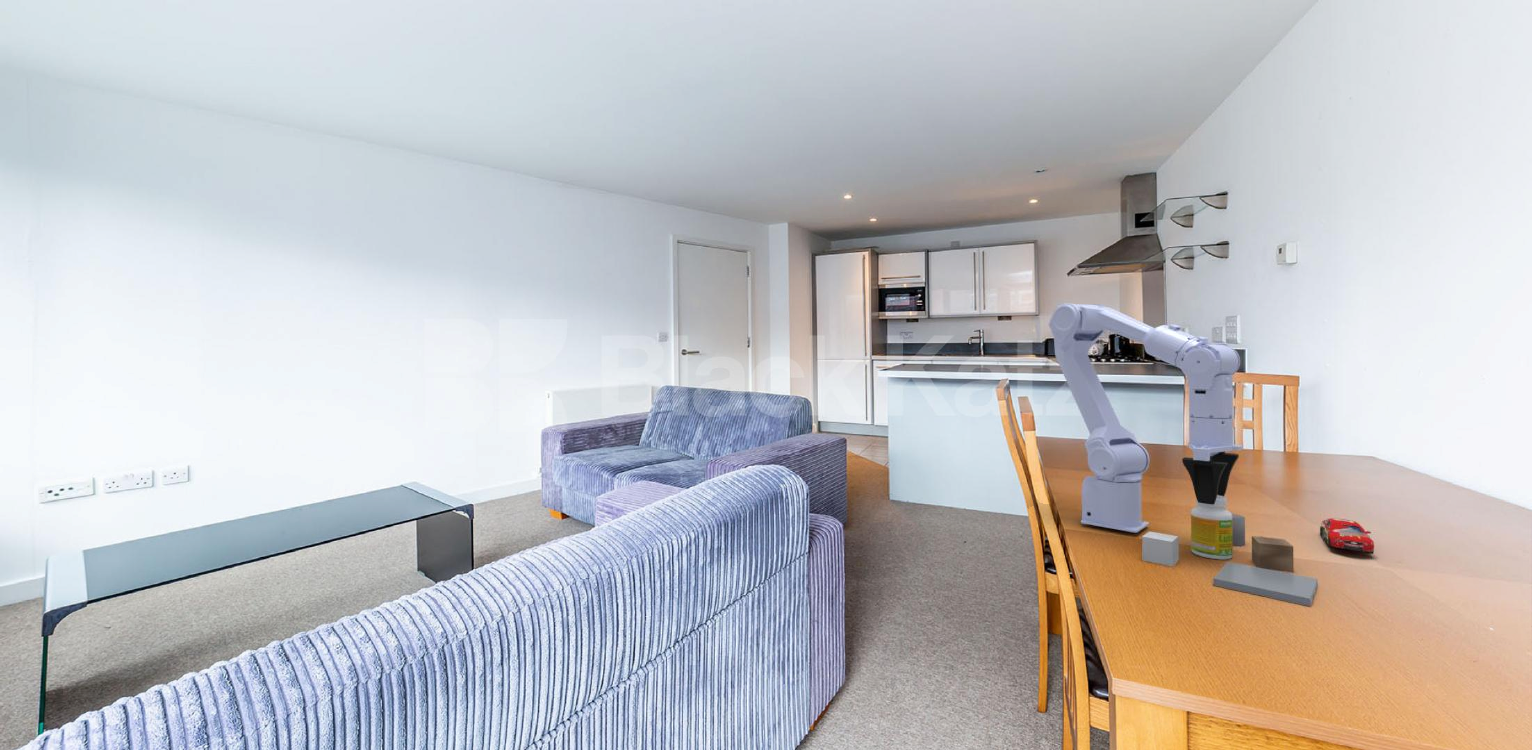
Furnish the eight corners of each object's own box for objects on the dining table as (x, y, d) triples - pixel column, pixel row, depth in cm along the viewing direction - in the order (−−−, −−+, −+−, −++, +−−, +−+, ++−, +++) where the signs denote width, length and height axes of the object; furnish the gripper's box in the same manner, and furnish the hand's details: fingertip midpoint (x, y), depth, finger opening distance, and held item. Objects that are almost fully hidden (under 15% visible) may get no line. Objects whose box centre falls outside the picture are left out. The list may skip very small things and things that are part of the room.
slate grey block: (1213, 544, 99) (1213, 515, 99) (1218, 539, 102) (1217, 511, 102) (1242, 549, 96) (1242, 520, 96) (1247, 544, 99) (1246, 515, 99)
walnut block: (1259, 568, 88) (1259, 542, 87) (1251, 560, 91) (1251, 535, 91) (1293, 572, 86) (1293, 546, 86) (1284, 564, 89) (1284, 539, 89)
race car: (1377, 558, 89) (1377, 532, 89) (1329, 551, 93) (1329, 526, 93) (1361, 540, 99) (1361, 517, 99) (1318, 534, 103) (1318, 512, 103)
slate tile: (1213, 585, 81) (1213, 578, 81) (1227, 567, 88) (1227, 561, 88) (1310, 606, 74) (1310, 598, 74) (1317, 585, 80) (1317, 578, 80)
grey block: (1142, 561, 92) (1142, 536, 92) (1149, 555, 94) (1149, 531, 94) (1172, 567, 89) (1171, 541, 89) (1178, 561, 91) (1178, 536, 91)
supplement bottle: (1223, 562, 90) (1223, 501, 90) (1185, 553, 95) (1184, 495, 95) (1238, 556, 93) (1238, 497, 93) (1200, 547, 98) (1199, 491, 98)
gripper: (1233, 421, 86) (1233, 511, 86) (1249, 415, 96) (1250, 495, 96) (1176, 419, 91) (1177, 503, 91) (1198, 413, 101) (1198, 489, 101)
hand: (1211, 499), depth 94 cm, fingers open, 7 cm apart
